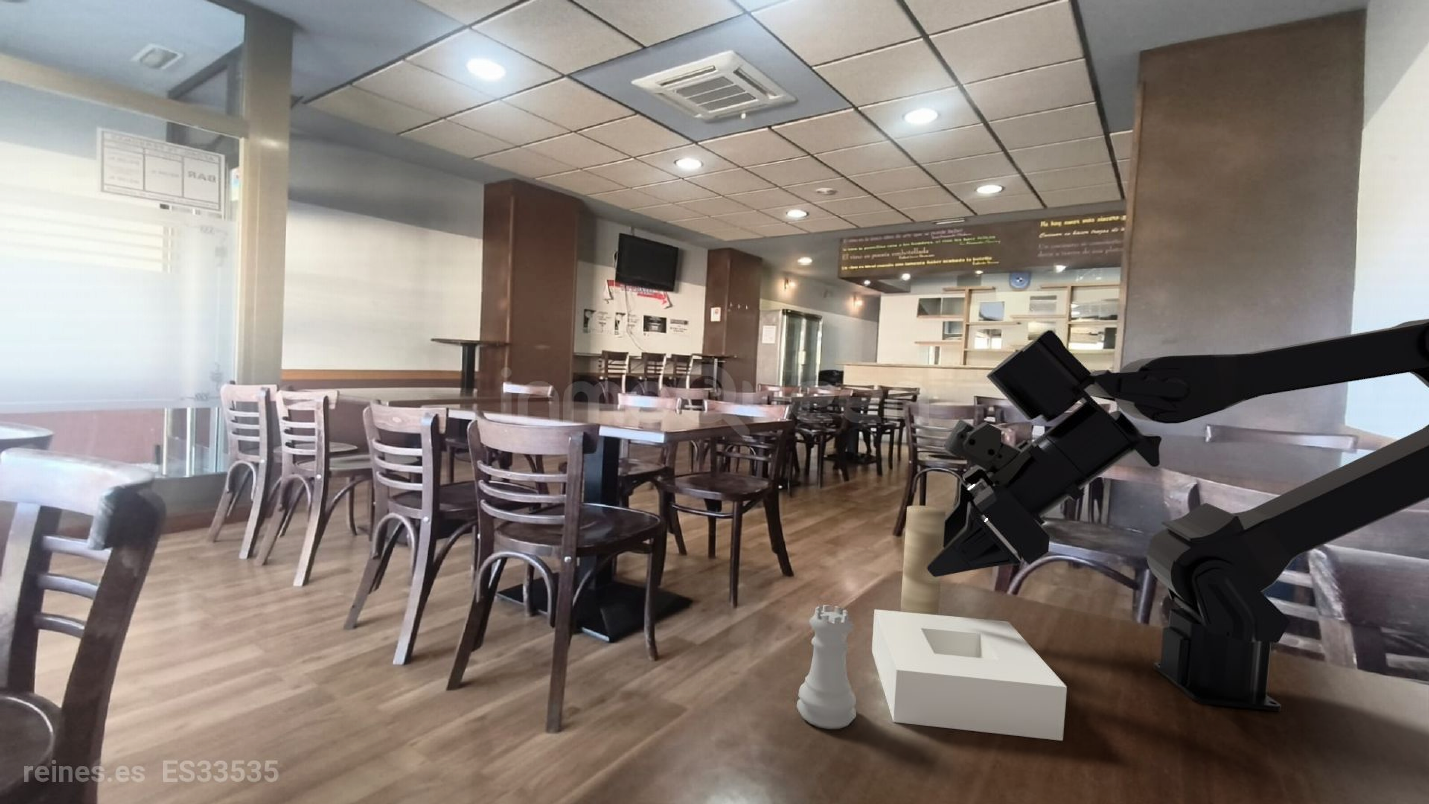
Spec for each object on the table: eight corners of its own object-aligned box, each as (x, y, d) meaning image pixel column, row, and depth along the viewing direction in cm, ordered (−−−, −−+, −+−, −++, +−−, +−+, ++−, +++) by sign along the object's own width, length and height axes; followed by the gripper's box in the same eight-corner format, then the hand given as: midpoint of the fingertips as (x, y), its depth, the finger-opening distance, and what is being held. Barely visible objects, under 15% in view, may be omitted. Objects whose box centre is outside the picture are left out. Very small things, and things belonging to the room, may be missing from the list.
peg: (932, 632, 63) (940, 507, 63) (940, 648, 60) (949, 514, 59) (896, 629, 64) (903, 504, 63) (902, 644, 60) (910, 512, 59)
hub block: (1005, 664, 57) (1008, 621, 57) (1062, 740, 45) (1066, 687, 45) (871, 651, 58) (874, 609, 58) (893, 721, 46) (896, 669, 46)
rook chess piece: (861, 733, 45) (868, 625, 44) (799, 730, 45) (805, 621, 44) (849, 700, 49) (855, 602, 49) (793, 697, 49) (798, 598, 49)
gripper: (991, 391, 67) (880, 481, 71) (1016, 395, 50) (866, 513, 54) (1066, 470, 65) (947, 558, 69) (1120, 504, 48) (956, 618, 52)
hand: (929, 558), depth 61 cm, fingers open, 9 cm apart
